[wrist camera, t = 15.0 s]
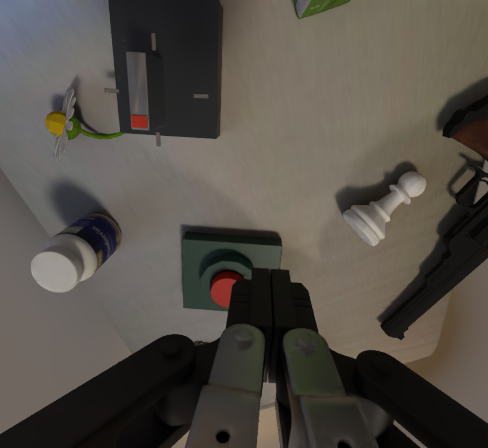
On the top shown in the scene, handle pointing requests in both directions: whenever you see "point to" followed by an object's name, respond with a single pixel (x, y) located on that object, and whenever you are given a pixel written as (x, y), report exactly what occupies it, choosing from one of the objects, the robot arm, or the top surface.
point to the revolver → (454, 227)
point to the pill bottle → (76, 253)
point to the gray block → (146, 91)
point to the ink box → (315, 6)
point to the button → (224, 287)
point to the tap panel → (172, 61)
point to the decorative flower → (68, 125)
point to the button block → (222, 263)
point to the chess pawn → (383, 208)
